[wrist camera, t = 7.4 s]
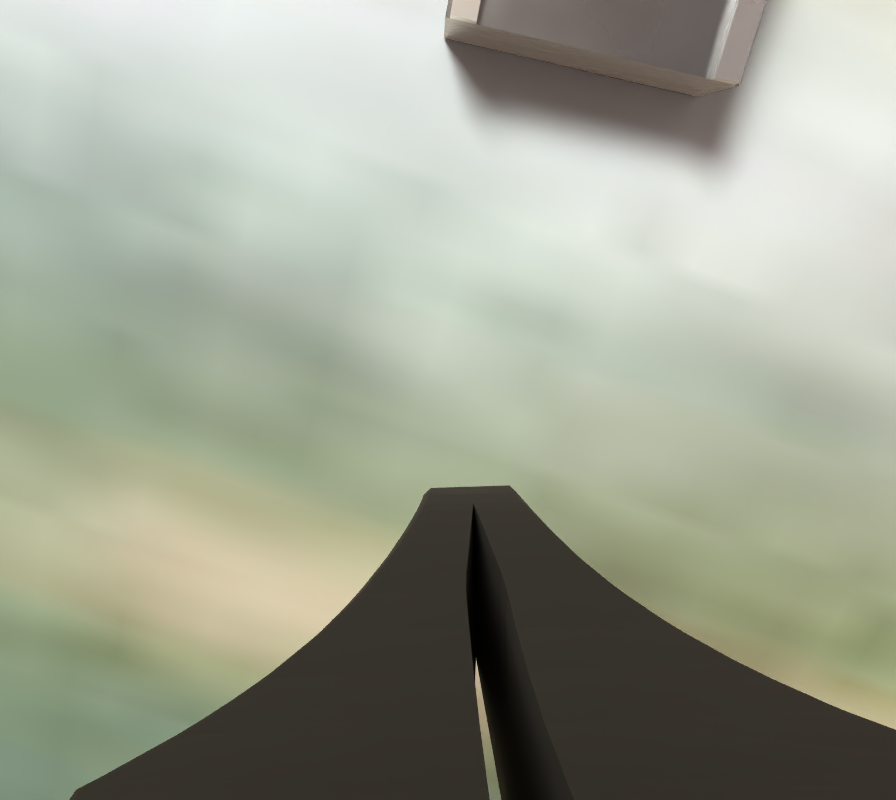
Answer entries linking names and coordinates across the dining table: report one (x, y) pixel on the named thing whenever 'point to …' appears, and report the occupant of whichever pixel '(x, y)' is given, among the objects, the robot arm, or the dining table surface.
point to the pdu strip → (620, 37)
